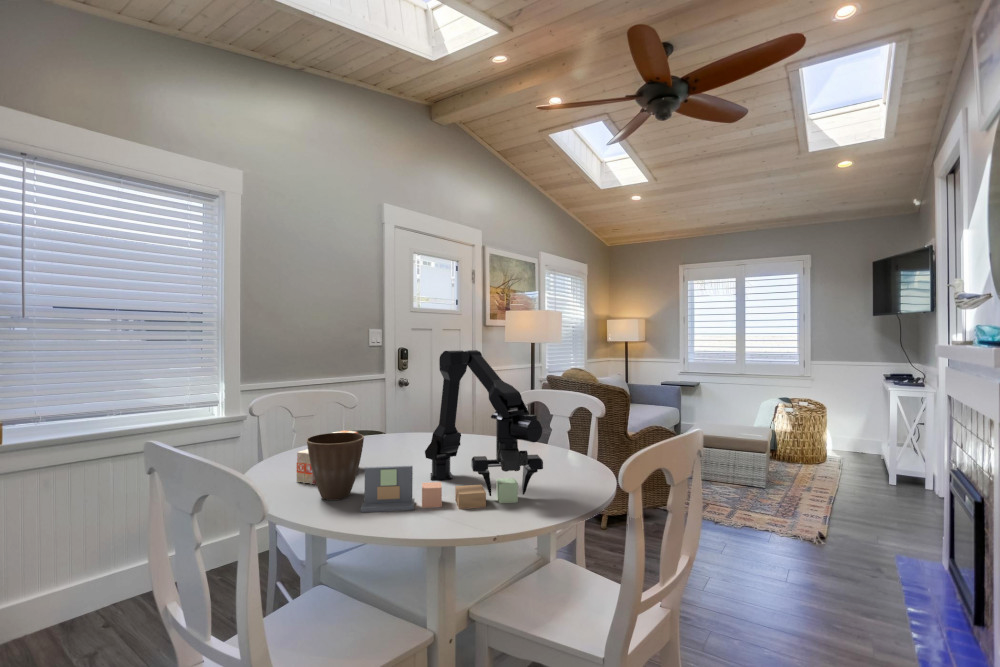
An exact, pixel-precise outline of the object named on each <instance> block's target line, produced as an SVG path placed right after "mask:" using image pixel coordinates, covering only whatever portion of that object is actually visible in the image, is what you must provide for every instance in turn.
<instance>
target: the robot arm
mask: <svg viewBox="0 0 1000 667" xmlns="http://www.w3.org/2000/svg"><path fill="white" fill-rule="evenodd" d="M438 359H439V360H438V361H439V362H438V363H439V364H438V365H439V371H440V373H441V376H442V378H443V384H442V392H441V403H440V410H439V412H440V413H439V419H438V420H439V421H438V425H437V426H436V428H435V430H434V431H433V432H432V436H431V440H430V444H429V445H428V446H427V447H426V448H425V450H424V455H425V459H428V460H431V472H430V480H431V481H435V480H436V481H439V480H453V474H452V471H451V458H452V457H457V454H458V450H459V448H460V446H461V437H462V434H461V432H459V431H458V428H457V427H456V422H457V414H458V403H459V393H460V384H461V379H462V378H463V377H464V375H465V374H466V372H467V368H469V370H470V371H471V372H472V373H473V374H474V375H475V377H476V378H477V379H478V381H479V382H480V384H482V385H483V387H484V389H485V390H487V393H488V400H489V402H490V404H491V406H492V407H493V409H494V410H495V412H494V413H492V415H490V418H491V419H493V420H496V422H495V423H496V424H495V425H496V427H495V428H496V429H495V430H496V431H495V434H496V435H495V436H496V437H495V438H496V442H495V443H496V445H495V446H496V447H495V448H496V449H495V453H496V454H495V455H496V458H495V459H488V457H487V456H486V455H484V456H483V455H482V456H481V455H478V456H472V458H471V461H470V463H471V464H470V465H471V469H472V472H473V473H474V472H475V473H476V472H477V473H478V475H479V476H480V475H481V476H482V478H483V480H484V482H485V485H486V488H487V492H488V495H489V497H492V485H491V477H490V476H491V475H490V474H491V473H490V471H489V468H493V467H494V468H495V467H496V468H498V467H500V468H501V469H500V470H501V471H502V472H506V473H508V472H511V471H512V472H513V471H514V472H519V471H521V467H522V466H523V467H522V481H521V482H522V483H521V493H522V495H523V496H525V494H526V491H527V488H528V486H529V482H530V479H531V478H532V476H533V475H534V474H535V473H538V472H539V470H543V469H544V460H543V459H542V458H541V457H540V455H539V454H529V453H528V450H520V449H519V444H518V442H519V441H518V440H520V441H524V442H529V443H537V442H538V441H539V440H540V439H541V437H542V435H543V427H542V424H541V422H540V421H539V420H538V418H537V417H538V416H537V415H536V414H531V415H530V411H529V410H528V408H527V406H526V404H525V402H524V400H523V398H522V394H521V393H520V391H519V390H518V389H516V388H515V387H514V386H513V385H511V384H509V383H507V382H505V381H504V380H503V379H502V378H501V377H500V376H499V375H498V374H497V372H496V371H495V370H494V369H493V368H492V366H491V365H490V364H489V363H488V362H487V361H486V359H485V358H484V356H483V354H482V352H481V351H479V350H477V349H475V350H474V349H472V350H471V349H469V350H468V349H467V350H444V351H443V352H442V353H441V354H440V356H439V358H438Z"/></svg>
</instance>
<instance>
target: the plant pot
mask: <svg viewBox="0 0 1000 667" xmlns="http://www.w3.org/2000/svg"><path fill="white" fill-rule="evenodd" d="M364 439H365V436H364V435H363V434H360V433H359V432H358V433H333V432H330V433H320V434H316V435H312V436H310V437H308V438H307V439H306V446H307V449H308V453H309V458H310V463H311V468H312V472H313V475H314V479H315V482H316V483H315V485H316V487H317V490H318V492H319V495H320V497H322V498H321V499H323V500H325V499H328V500H327V501H337V500H338V499H339V500H343V499H346V498H348V497H349V496H350V495H351V492H352V490H353V487H354V484H355V481H356V478H357V474H358V471H359V467H360V464H361V458H362V454H363V447H364ZM339 500H338V501H339Z"/></svg>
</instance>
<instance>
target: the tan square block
mask: <svg viewBox="0 0 1000 667" xmlns="http://www.w3.org/2000/svg"><path fill="white" fill-rule="evenodd" d="M454 488H455V493H454V494H455V496H454V498H455V499H454V500H455V503H456V506H457V508H458V510H464V509H479V508H487V491H486V490H485V488H484V486H483V485H482V484H470V485H468V484H467V485H455V486H454Z"/></svg>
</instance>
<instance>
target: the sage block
mask: <svg viewBox="0 0 1000 667" xmlns="http://www.w3.org/2000/svg"><path fill="white" fill-rule="evenodd" d="M518 488H519V484H518V482H517V479H516V478H515V477H513V478H496V499H497V501H498V504H505V503H506V504H509V503H510V504H511V503H518V501H519V489H518Z"/></svg>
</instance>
